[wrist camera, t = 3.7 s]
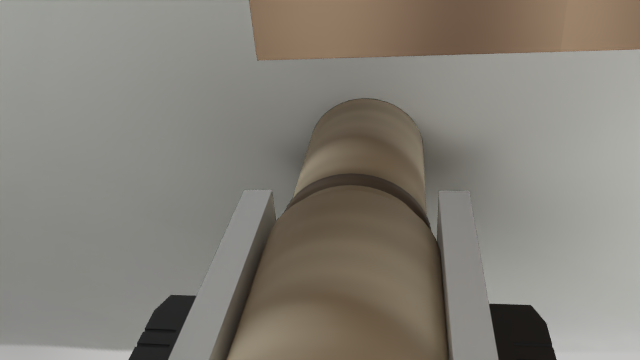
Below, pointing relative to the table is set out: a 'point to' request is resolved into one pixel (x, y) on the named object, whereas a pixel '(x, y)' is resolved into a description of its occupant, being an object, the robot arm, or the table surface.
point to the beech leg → (351, 251)
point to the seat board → (439, 27)
